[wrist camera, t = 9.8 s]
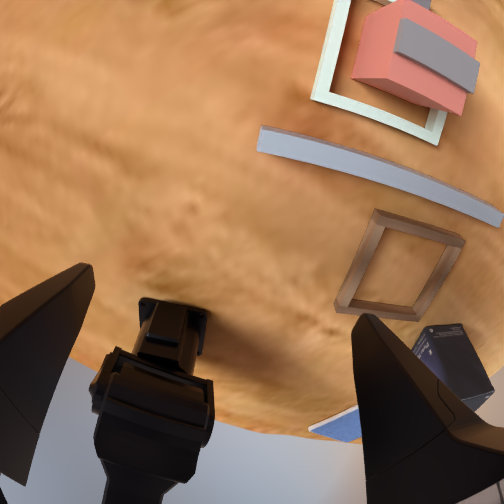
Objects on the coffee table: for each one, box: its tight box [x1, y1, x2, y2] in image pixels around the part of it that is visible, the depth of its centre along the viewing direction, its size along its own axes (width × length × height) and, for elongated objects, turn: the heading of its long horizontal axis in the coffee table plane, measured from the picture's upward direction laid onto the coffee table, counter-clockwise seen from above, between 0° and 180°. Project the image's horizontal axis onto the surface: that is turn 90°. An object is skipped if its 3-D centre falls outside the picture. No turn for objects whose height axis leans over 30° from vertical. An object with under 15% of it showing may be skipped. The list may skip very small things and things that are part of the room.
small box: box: [411, 324, 495, 412], centre depth 27 cm, size 11×6×10 cm, turn 177°
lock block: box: [351, 0, 480, 116], centre depth 12 cm, size 5×5×7 cm
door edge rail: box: [257, 125, 504, 228], centre depth 19 cm, size 1×22×2 cm, turn 79°
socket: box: [310, 0, 447, 146], centre depth 14 cm, size 11×10×1 cm
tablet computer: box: [308, 404, 362, 442], centre depth 39 cm, size 19×13×1 cm, turn 136°
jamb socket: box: [334, 209, 465, 322], centre depth 24 cm, size 10×10×1 cm
